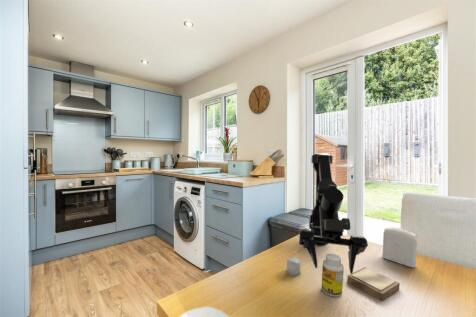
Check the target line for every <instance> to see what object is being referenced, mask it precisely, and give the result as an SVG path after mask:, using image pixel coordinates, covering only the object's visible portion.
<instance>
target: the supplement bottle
mask: <svg viewBox="0 0 476 317" xmlns="http://www.w3.org/2000/svg"><path fill="white" fill-rule="evenodd" d="M321 267H322V269H321V270H322V271H321V290H322V291H323V292H324V294H326V295H328V296H331V297H334V298H335V297H340V296H342V294H343V289H344V287H343V286H344V272H345V271H344V270H345V268H344V265H343V264H342V258H341V256H339V255H337V254H335V253H326V254H325V259H324V260H323V261H322V266H321Z"/></svg>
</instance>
